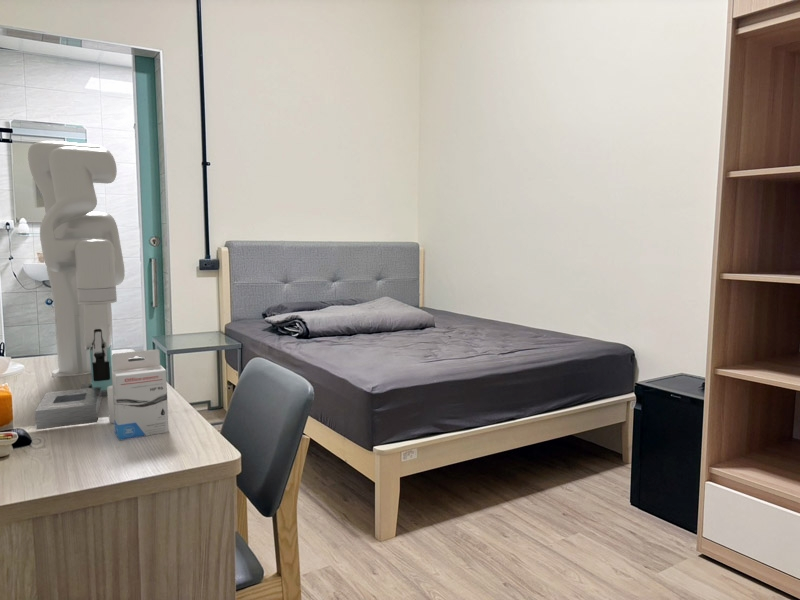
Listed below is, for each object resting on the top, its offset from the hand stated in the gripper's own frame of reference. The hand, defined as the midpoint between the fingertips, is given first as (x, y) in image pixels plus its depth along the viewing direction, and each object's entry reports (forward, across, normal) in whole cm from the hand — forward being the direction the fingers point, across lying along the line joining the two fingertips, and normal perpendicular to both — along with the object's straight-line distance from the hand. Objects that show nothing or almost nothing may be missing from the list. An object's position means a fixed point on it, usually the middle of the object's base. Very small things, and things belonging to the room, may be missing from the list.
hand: (102, 377), depth 130 cm
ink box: (+5, +30, +8) cm, 31 cm away
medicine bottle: (+5, +22, +7) cm, 24 cm away
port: (+4, +13, -5) cm, 15 cm away
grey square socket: (+4, 0, 0) cm, 4 cm away
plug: (+3, 0, 0) cm, 3 cm away
